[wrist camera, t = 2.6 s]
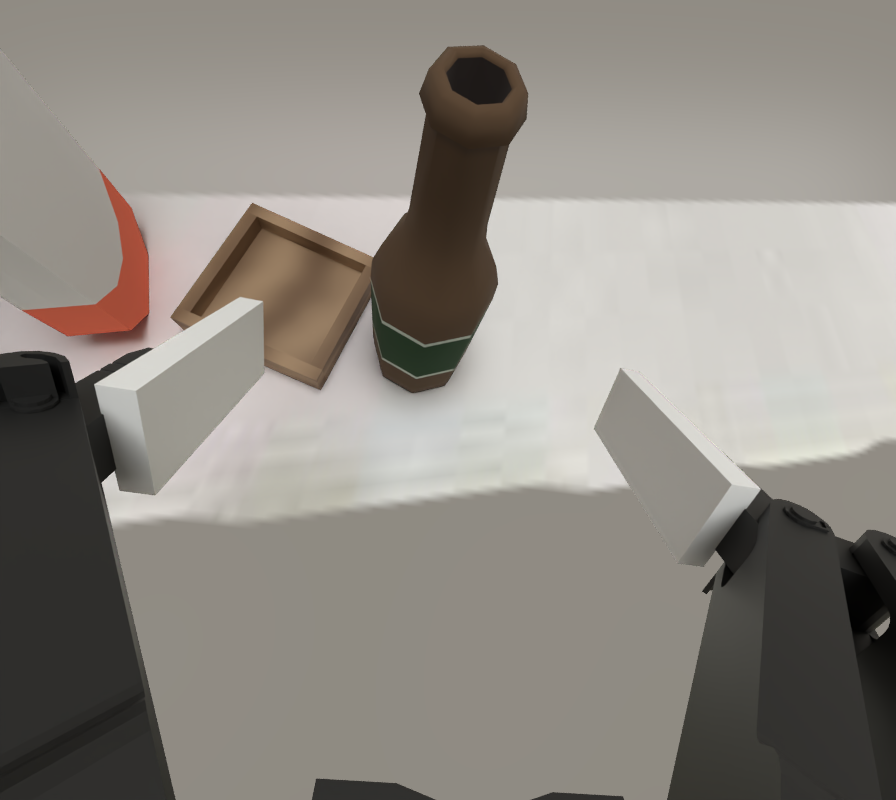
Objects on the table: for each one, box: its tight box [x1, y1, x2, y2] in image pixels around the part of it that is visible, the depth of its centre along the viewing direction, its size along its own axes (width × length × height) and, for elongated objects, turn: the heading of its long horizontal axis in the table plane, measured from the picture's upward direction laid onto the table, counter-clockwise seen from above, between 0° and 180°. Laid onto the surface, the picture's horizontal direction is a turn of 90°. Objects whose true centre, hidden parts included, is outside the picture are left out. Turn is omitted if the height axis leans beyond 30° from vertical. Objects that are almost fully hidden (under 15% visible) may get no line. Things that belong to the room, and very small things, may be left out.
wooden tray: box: [170, 203, 374, 390], centre depth 34 cm, size 12×12×2 cm
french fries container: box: [0, 49, 149, 336], centre depth 25 cm, size 5×11×18 cm, turn 10°
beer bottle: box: [370, 45, 528, 393], centre depth 24 cm, size 8×8×24 cm
